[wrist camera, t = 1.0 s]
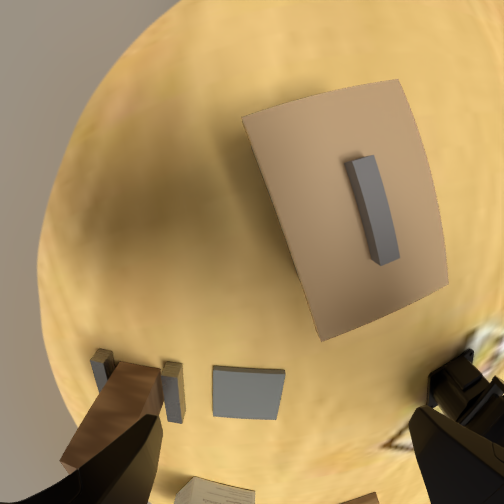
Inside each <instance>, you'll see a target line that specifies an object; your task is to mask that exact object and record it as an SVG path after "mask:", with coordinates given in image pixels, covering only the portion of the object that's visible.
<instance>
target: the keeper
mask: <svg viewBox="0 0 504 504" xmlns="http://www.w3.org/2000/svg"><path fill="white" fill-rule="evenodd" d="M90 362H91V366H92V370H93V373H94V377H95V380H96V384H97V387H98V390H99V393H100V392H101V390H102V389H103V387H104V386H105V384H106V382H107V381H108V379H109V378H110V376H111V375H112V373H113V372H114V370H115V364H114V359H113V354H112V351H108V350H104V349H98V351H97V352H96V353H95V354H94V356H93V357H92V358H91V359H90ZM161 380H162V388H163V395H164V401H165V408H166V414H167V420H168V422H174V423H180V424H182V423H183V419H184V415H185V412H186V405H185V393H184V381H183V366H182V364H181V363H174V362H166V364H165V367H164V369H163V371H162V374H161Z"/></svg>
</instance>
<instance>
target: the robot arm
mask: <svg viewBox="0 0 504 504" xmlns="http://www.w3.org/2000/svg"><path fill="white" fill-rule="evenodd" d="M473 355H474V351H473V350H472V349H469V350H468V351H466V352H465V353H463V354H461V355H460V356H458V357H457V358H455V359H454V360H452V361H450V362H449V363H447V364H445V365H444V366H442V367H440V368H439V369H437V370H435V371H434V372H432V373H431V374H430V375H429V377H428V395H427V405H424V406H420V407H418V408H416V410H415V412H414V414H413V415H412V417H411V419H410V421H409V431H410V435H411V439H412V443H413V447H414V451H415V455H416V459H417V462H418V465H419V468H420V471H421V474H422V477H423V480H424V483H425V486H426V489H427V492H428V495H429V499H430V502H431V504H504V395H503V394H504V381H503V380H501V379H500V378H498V377H497V376H496V375H495V376H494V377H493V379H492V381H491V382H490V383H489V382H488V381H487V380H486V378H485V377H484V376H483V375H482V373H481V372H480V371H479V370H478V369H477V368H476V367H475V366H474V365H473V364H472V363H473ZM502 395H503V396H502ZM436 406H439V407H440V409H441V410H442V411H443V413H444V414H445V415H443V414H441V413H439V412H438V411H436V410H434V409H433V408H434V407H436ZM162 437H163V429H162V425H161V421H160V418H159V416H158V415H154V414H145V415H144V416H143V417H142V418H140V419H139V420H138V421H137V422H136V423H134V424H133V425H132V426H131V427H130V428H128V429H127V430H126V431H125V432H124V433H122V434H121V435H120V436H119V437H117V438H116V439H115V440H114V441H112V442H111V443H110V444H109V445H107V446H106V447H105V448H104V449H102V450H101V451H100V452H99V453H97V454H96V455H95V456H93V457H92V458H91V459H90V460H88V461H87V462H86V463H84V464H83V465H82V466H80V467H79V468H78V469H76V470H75V471H74V472H72V473H71V474H70V475H68V476H67V477H65V478H64V479H62V480H61V481H59V482H57V483H56V484H54V485H52V486H51V487H49V488H47V489H45V490H43V491H41V492H39V493H37V494H35V495H33V496H31V497H28V498H26V499H24V500H21V501H18V502H12V503H4V502H0V504H147V503H148V499H149V496H150V493H151V489H152V486H153V483H154V479H155V476H156V472H157V467H158V461H159V455H160V449H161V443H162Z"/></svg>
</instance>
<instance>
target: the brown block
mask: <svg viewBox="0 0 504 504" xmlns="http://www.w3.org/2000/svg"><path fill="white" fill-rule="evenodd" d="M163 402H164V395H163V388H162V380H161V371H160V369H158V368H152V367H147V366H141V365H136V364H131V363H126V362H121V361H120V362H119V364H118V365H117V367H116V368H115V370H114V372H113V373H112V375H111V376H110V378H109V379H108V381H107V382H106V384H105V386H104V387H103V389H102V390H101V392H100V393H99V395H98V397H97V398H96V400H95V401H94V403H93V405H92V406H91V408H90V409H89V411H88V413H87V414H86V416H85V418H84V419H83V421H82V423H81V424H80V426H79V428H78V429H77V431H76V433H75V434H74V436H73V438H72V440H71V441H70V443H69V445H68V446H67V448H66V450H65V452H64V453H63V456H62V457H61V459H60V462H61V464H62V465H63V466H64V468H65V469H66V471H67V472H68V473H69V475H70V474H71V473H72V472H74V471H75V470H76V469H78V468H79V467H80V466H82V465H83V464H84V463H86V462H87V461H88V460H90V459H91V458H92V457H93V456H95V455H96V454H97V453H99V452H100V451H101V450H102V449H104V448H105V447H106V446H107V445H109V444H110V443H111V442H112V441H114V440H115V439H116V438H117V437H119V436H120V435H121V434H122V433H124V432H125V431H126V430H127V429H128V428H130V427H131V426H132V425H133V424H134V423H136V422H137V421H138V420H139V419H140V418H142V417H143V416H144V415H145V414H154V415H158V416H159V413H160V410H161V408H162V405H163Z"/></svg>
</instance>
